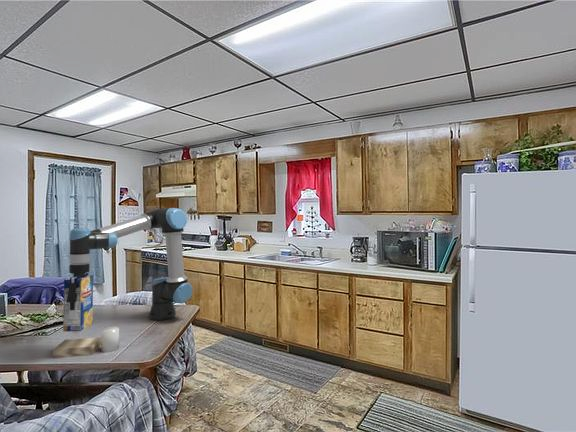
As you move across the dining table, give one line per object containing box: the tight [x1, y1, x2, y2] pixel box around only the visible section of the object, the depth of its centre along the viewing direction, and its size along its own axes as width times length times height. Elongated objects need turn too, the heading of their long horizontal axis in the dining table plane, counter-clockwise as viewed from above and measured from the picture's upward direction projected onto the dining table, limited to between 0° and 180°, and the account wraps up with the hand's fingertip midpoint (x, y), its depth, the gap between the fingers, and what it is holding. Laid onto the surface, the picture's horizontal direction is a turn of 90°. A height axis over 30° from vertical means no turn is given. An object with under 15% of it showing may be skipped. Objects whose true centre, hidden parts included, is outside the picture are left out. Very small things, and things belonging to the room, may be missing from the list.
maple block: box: [52, 337, 101, 358], centre depth 145 cm, size 15×11×4 cm
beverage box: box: [62, 274, 94, 332], centre depth 145 cm, size 7×11×22 cm, turn 7°
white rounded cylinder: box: [100, 326, 120, 353], centre depth 148 cm, size 7×7×9 cm
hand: (78, 313), depth 145 cm, fingers closed on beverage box, 11 cm apart
